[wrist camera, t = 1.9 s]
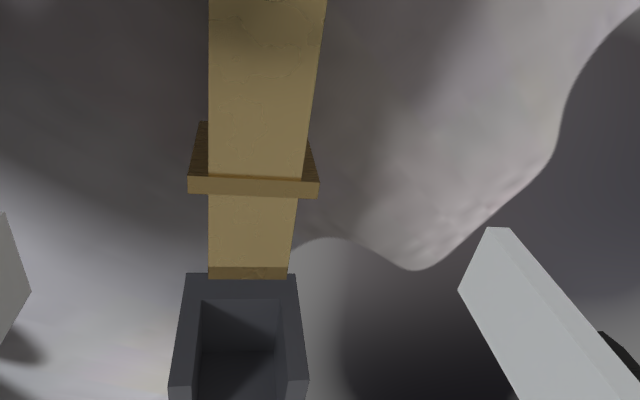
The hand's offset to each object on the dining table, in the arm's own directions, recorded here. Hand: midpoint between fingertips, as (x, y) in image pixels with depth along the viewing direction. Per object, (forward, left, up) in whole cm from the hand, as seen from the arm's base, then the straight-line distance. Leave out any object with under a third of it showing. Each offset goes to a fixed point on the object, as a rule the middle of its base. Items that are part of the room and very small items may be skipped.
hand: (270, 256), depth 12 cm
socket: (0, -22, -18) cm, 29 cm away
